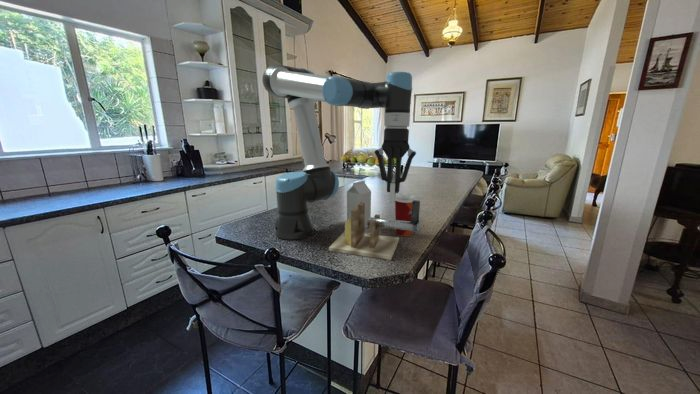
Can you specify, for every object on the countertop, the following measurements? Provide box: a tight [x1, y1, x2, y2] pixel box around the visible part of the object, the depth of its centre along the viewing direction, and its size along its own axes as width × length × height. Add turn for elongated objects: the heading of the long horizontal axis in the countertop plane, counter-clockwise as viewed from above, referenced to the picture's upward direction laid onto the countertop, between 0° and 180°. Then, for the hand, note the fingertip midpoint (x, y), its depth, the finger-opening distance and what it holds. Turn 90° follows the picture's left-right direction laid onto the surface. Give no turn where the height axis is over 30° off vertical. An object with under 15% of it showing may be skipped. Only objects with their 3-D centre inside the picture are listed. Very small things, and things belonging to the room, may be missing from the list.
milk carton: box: [346, 180, 372, 229], centre depth 113 cm, size 7×7×19 cm
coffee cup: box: [394, 193, 417, 237], centre depth 106 cm, size 8×8×15 cm
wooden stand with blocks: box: [328, 202, 400, 261], centre depth 95 cm, size 21×16×14 cm
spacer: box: [344, 217, 351, 245], centre depth 96 cm, size 2×8×8 cm, turn 161°
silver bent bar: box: [367, 199, 422, 235], centre depth 90 cm, size 17×4×11 cm, turn 71°
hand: (392, 202), depth 90 cm, fingers closed
